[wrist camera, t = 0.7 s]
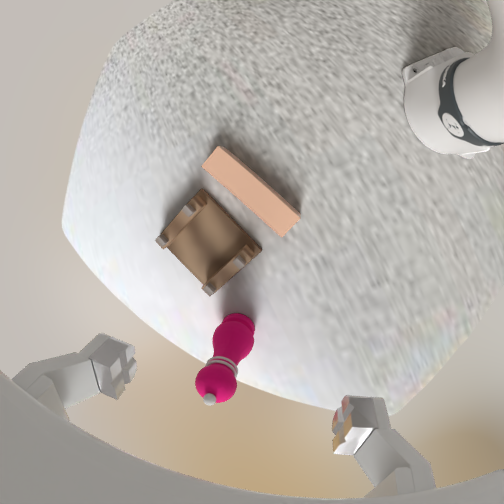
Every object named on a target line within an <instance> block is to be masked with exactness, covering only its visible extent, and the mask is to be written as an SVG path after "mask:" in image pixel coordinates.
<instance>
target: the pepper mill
mask: <svg viewBox="0 0 504 504" xmlns="http://www.w3.org/2000/svg"><path fill="white" fill-rule="evenodd" d="M254 331H255V327H254V324H253V322H252V321H251V319H250V318H248V317H247V316H245V315H243V314H239V313H233V314H230V315H228V316H226V317H225V319H224V320H223V322H222V324H221V325H219V326H218V327H217V328H216V330H215V332H214V335H213V348H214V355H213V357H212V358H210V359H209V360H208V361H207V364H206V366H205V367H204V368H202V369H201V370H200V371H199V373H198V374H197V377H196V381H195V385H196V389H197V391H198V393H199V394H200V395H201V396H202V397H203V401H204V403H205V404H207V405H213V404H215V403H220V402H225V401H227V400H228V399H230V398H231V397H232V396H233V395H234V393H235V391H236V388H237V382H236V377H237V374H238V368H237V365H238V363H239V362H240V361H241V360H242V359H244V358H245V357H246V356H247V355H248V354H249V353H250V351H251V350H252V347H253V344H254V337H253V335H254Z"/></svg>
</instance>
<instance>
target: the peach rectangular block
mask: <svg viewBox="0 0 504 504" xmlns="http://www.w3.org/2000/svg"><path fill="white" fill-rule="evenodd" d="M201 167H202V168H204V169H205V170H206V171H207V172H208V173H209V174H211V175H212V176H213V177H214V178H215V179H216V180H218V181H219V182H220V183H221V184H222V185H223V186H224V187H226V188H227V189H228V190H229V191H230V192H231V193H232V194H234V195H235V196H236V197H237V198H238V199H239V200H240V201H242V202H243V203H244V204H245V205H246V206H247V207H248V208H249V209H251V210H252V211H253V212H254V213H255V214H256V215H257V216H258V217H259V218H261V219H262V220H263V221H264V222H265V223H266V224H267V225H268V226H269V227H271V228H272V229H273V230H274V231H275V232H276V233H277V234H278V235H279V236H281V237H283V236H284V235H285V234H286V233H287V232H288V231H289V230H290V229H291V228H292V227H293V225H294V224H295V223H296V222H297V221H298V220H299V219H300V213H299V212H298V211H297V210H296V209H295V208H294V207H293V206H292V205H290V204H289V203H288V202H287V201H286V200H285V199H284V198H283V197H282V196H281V195H279V194H278V193H277V192H276V191H275V190H274V189H273V188H272V187H271V186H269V185H268V184H267V183H266V182H265V181H264V180H263V179H261V178H260V177H259V176H258V175H257V174H256V173H255V172H253V171H252V170H251V169H250V168H249V167H248V166H246V165H245V164H244V163H243V162H242V161H241V160H239V159H238V158H237V157H236V156H235V155H234V154H232V153H231V152H230V151H229V150H228V149H226V148H225V147H221V146H218V147H217V148H216V149H215V150H214V151H213V153H212V154H211V155H210V156H209V158H208V159H207V160H206V161H205V163H204V164H203V165H202V166H201Z"/></svg>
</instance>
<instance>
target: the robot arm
mask: <svg viewBox="0 0 504 504" xmlns="http://www.w3.org/2000/svg"><path fill="white" fill-rule="evenodd" d="M486 1H487V4H488V6H489V10H490V13H491V19H492V36H491V40H490V42H489V43H488V45H487V46H486V47H485V48H483V49H482V50H481V51H480V52H478V53H477V54H473V53H471V52H464V51H463V50H461V49H460V48H458V47H452V48H450V49H449V48H448V49H446V50H444V51H442V52H439V53H437V54H434V55H432V56H430V57H427V58H425V59H423V60H420V61H418V62H416V63H413V64H411V65H409V66H407V67H405V68H403V70H402V75H403V79H404V83H405V95H404V108H405V113H406V117H407V120H408V122H409V125H410V127H411V129H412V130H413V132H414V133H415V135H416V136H417V137H418V139H419V140H420V141H421V142H422V143H423V144H424V145H426V146H427V147H428V148H430V149H431V150H433V151H435V152H438V153H441V154H458V155H459V156H461V157H463V158H466V159H472V158H473V157H474V156H475V154H476V153H478V152H485V151H488V150H490V147H493V146H497V145H501V144H503V143H504V0H486ZM413 69H414V70H415V71H416V73H415V72H414V71H413ZM134 354H135V349H134V346H133V345H131V344H128V343H126V342H123V341H120V340H118V339H116V338H114V337H110V336H108V335H106V334H104V333H100V334H98V335H97V336H96V337H95V338H94V339H93V340H92V341H91V342H90V343H88V344H87V345H86V346H85V347H84V348H83V349H82V350H81V351H80V352H79V353H76V352H74V353H71V354H67V355H62V356H59V357H55V358H50V359H46V360H42V361H38V362H34V363H30V364H28V365H27V366H26V367H25V368H24V369H23V370H21V371H20V372H19V373H18V374H17V375H16V376H15V377H14V378H13V379H12V380H11V379H10V378H9V377H7V376H6V375H5V374H4V373H3V372H2V371H0V504H504V469H503V470H497V471H494V472H491V473H488V474H485V475H483V476H480V477H477V478H473V479H470V480H467V481H464V482H460V483H456V484H452V485H448V486H445V487H440V488H436V485H435V481H434V477H433V472H432V468H431V464H430V463H429V462H428V461H427V460H426V459H425V458H424V457H423V456H422V455H421V454H420V453H419V452H418V451H417V450H416V449H415V448H414V447H413V446H412V445H411V444H410V443H408V442H407V441H406V440H405V439H404V438H403V437H402V436H401V435H400V434H399V433H398V432H397V431H396V430H395V429H391V425H390V421H389V417H388V413H387V409H386V405H385V401H384V399H383V398H379V397H363V396H350V395H346V396H345V397H344V398H343V400H342V407H340V408H338V409H337V411H336V413H335V415H334V418H333V423H332V431H333V433H334V434H335V435H336V436H335V437H334V439H333V454H344V455H354V458H355V459H356V460H357V462H358V464H359V465H360V467H361V468H362V469H363V471H364V472H365V474H366V475H367V477H368V478H369V480H370V481H371V482H372V484H373V485H374V487H375V488H374V489H373V490H371V491H370V492H369V493H368V494H366V495H365V496H364V498H348V499H329V498H306V497H293V496H284V495H276V494H268V493H261V492H255V491H250V490H244V489H239V488H234V487H230V486H225V485H221V484H217V483H213V482H209V481H205V480H202V479H198V478H195V477H192V476H188V475H185V474H182V473H179V472H176V471H173V470H170V469H167V468H164V467H162V466H159V465H156V464H154V463H151V462H149V461H146V460H144V459H141V458H139V457H136V456H134V455H132V454H130V453H127V452H125V451H123V450H121V449H119V448H117V447H115V446H112V445H110V444H109V443H107V442H104V441H102V440H101V439H99V438H97V437H95V436H93V435H91V434H89V433H88V432H86V431H84V430H82V429H81V428H79V427H77V426H76V425H74V424H72V423H70V422H69V421H70V420H69V417H68V415H67V413H66V411H65V409H66V408H69V407H71V406H73V405H75V404H77V403H80V402H82V401H84V400H86V399H89V398H91V397H93V396H95V395H97V394H99V393H100V392H101V393H103V394H105V395H107V396H110V397H112V398H114V399H117V400H118V399H119V397H120V396H121V395H122V393H123V391H124V390H125V384H127V383H130V382H131V381H132V379H133V378H134V376H135V373H136V367H137V364H136V360H135V359H134V358H133V355H134Z"/></svg>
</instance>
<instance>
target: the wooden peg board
mask: <svg viewBox="0 0 504 504" xmlns="http://www.w3.org/2000/svg"><path fill="white" fill-rule="evenodd" d="M155 241H156V242H157V243H158V244H159V246H160V247H161V248H162V249H165V248H166V247H167V248H168V249H169V250H170V251H171V252H172V253H173V254H174V255H175V256H176V257H177V258H178V259H179V260H180V261H181V262H182V263H183V264H184V265H185V267H186V268H187V269H188V270H189V271H190V272H191V273H192V274H193V275H194V276H195V277H196V278H197V279H198V280H199V281H200V282H201V283H202V284H203V287H202V289H203V290H204V291H205V292H206V293H207V294H208V295H209V296H211V295H212V294H214V293H215V292H216V291H217V290H219V289H220V288H221V287H222V286H223V285H224V284H225V283H226V282H228V281H229V280H230V279H231V278H232V277H233V276H234V275H235V274H237V273H238V272H239V271H240V270H241V269H242V268H243V267H244V266H246V265H247V264H248V263H249V262H250V261H251V260H252V259H253V258H255V257H256V256H257V255H258V254H259V253H260V252H261V251H262V249H261V248H260V247H259V245H258V244H257V243H256V242H255V241H254V240H253V239H252V238H251V237H250V236H249V235H248V234H247V233H246V232H245V231H244V230H243V229H242V228H241V227H240V226H239V225H238V224H237V223H236V222H235V221H234V220H233V219H232V218H231V217H230V216H229V215H228V214H227V213H226V212H225V211H224V210H223V209H222V208H221V207H220V205H219V204H218V203H217V202H216V201H215V200H214V199H213V198H212V197H211V196H210V195H209V194H208V193H207V192H206V191H205V190H204V189H200V191H199V192H198V193H197V194H196V195H195V196H194V197H193V198H192V199H191V200H190V201H189V202H188V203H187V204H186V205H185V206H184V207H183V208H182V209H181V211H180V212H179V214H178V215H177V216H176V217H175V218H174V219H173V220H172V222H171V223H170V224H169V225H168V226H167V227H166V229H165V230H164V231H163V232H162V233H161V235H160V236H158V237H157V239H156V240H155Z"/></svg>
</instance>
